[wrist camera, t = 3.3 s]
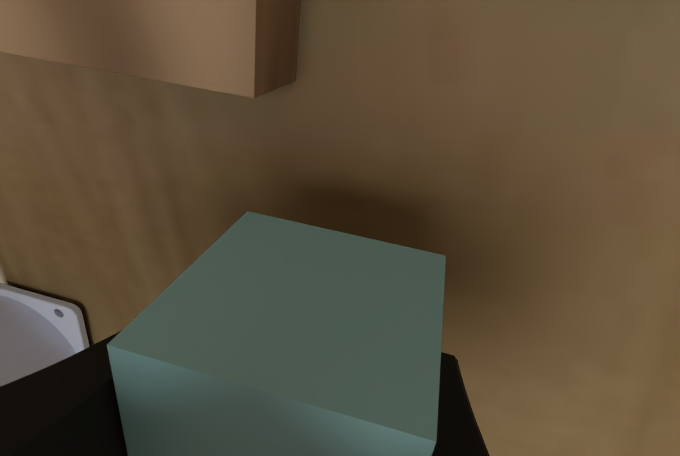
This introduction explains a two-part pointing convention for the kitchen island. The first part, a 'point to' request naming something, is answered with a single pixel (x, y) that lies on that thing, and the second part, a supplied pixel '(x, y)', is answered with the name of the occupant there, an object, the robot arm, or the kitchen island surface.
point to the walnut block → (163, 39)
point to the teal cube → (287, 349)
